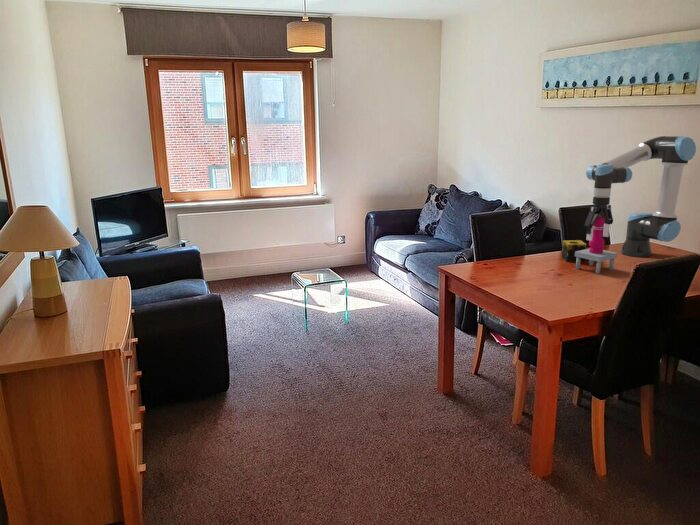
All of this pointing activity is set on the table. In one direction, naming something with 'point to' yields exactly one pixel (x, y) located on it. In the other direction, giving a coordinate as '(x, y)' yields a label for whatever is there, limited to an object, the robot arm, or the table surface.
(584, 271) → the table surface
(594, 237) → the pepper mill
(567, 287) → the table surface
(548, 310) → the table surface
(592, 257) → the stool
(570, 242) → the yellow and black cube
